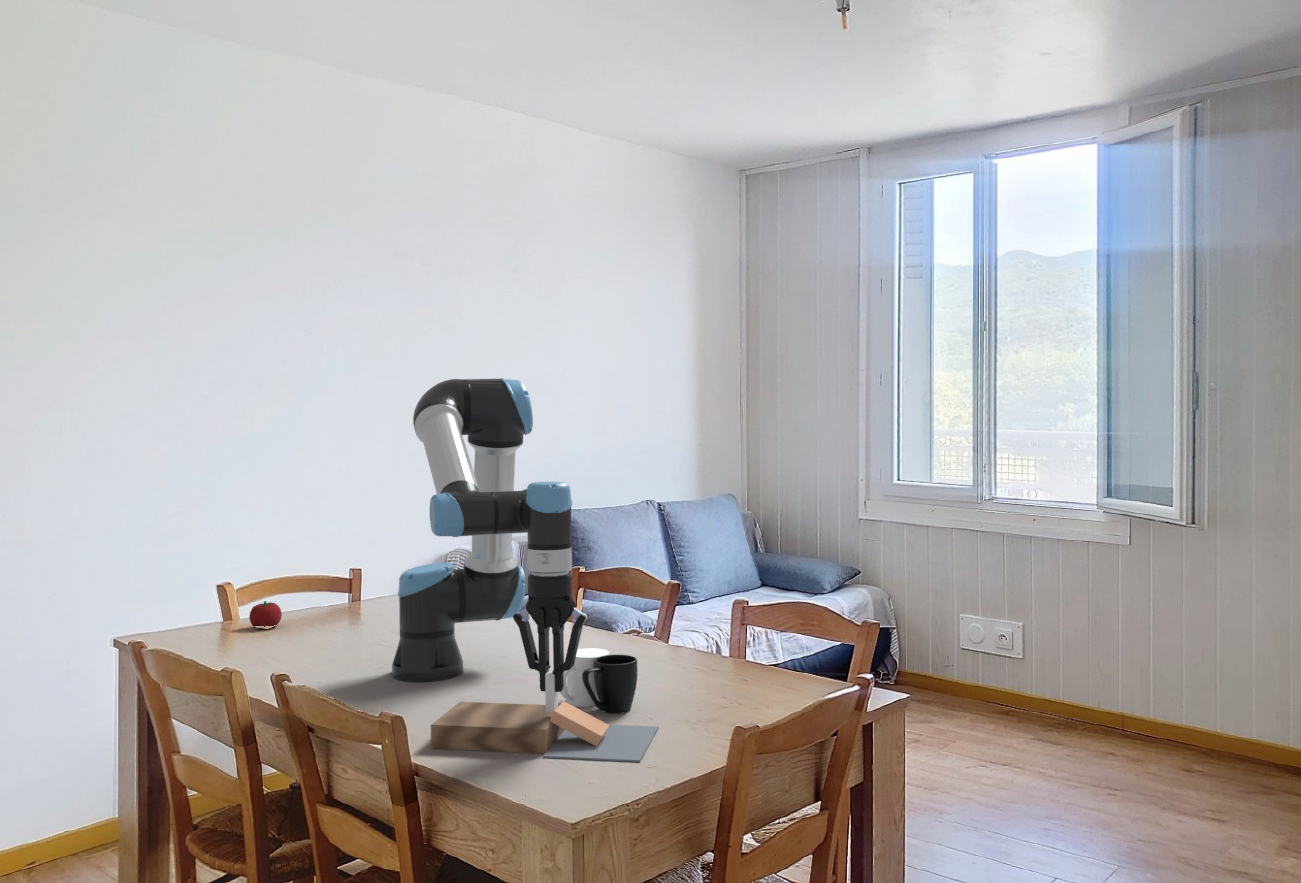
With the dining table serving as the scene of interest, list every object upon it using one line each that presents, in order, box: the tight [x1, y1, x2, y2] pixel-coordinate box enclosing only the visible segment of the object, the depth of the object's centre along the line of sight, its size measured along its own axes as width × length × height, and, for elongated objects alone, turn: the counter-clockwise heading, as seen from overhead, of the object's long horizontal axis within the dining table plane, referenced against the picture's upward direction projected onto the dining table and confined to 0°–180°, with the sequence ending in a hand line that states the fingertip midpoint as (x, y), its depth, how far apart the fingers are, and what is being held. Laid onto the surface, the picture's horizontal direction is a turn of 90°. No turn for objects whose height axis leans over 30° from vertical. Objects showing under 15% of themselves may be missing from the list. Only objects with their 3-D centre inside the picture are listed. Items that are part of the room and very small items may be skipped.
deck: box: [430, 701, 565, 755], centre depth 179 cm, size 20×14×4 cm
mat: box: [542, 724, 660, 763], centre depth 176 cm, size 16×18×1 cm
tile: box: [550, 700, 610, 746], centre depth 176 cm, size 9×6×2 cm, turn 80°
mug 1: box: [559, 647, 610, 708], centre depth 201 cm, size 12×9×8 cm
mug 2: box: [582, 654, 638, 715], centre depth 194 cm, size 8×12×10 cm
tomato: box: [248, 601, 283, 627], centre depth 275 cm, size 8×8×7 cm
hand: (552, 710), depth 177 cm, fingers closed
